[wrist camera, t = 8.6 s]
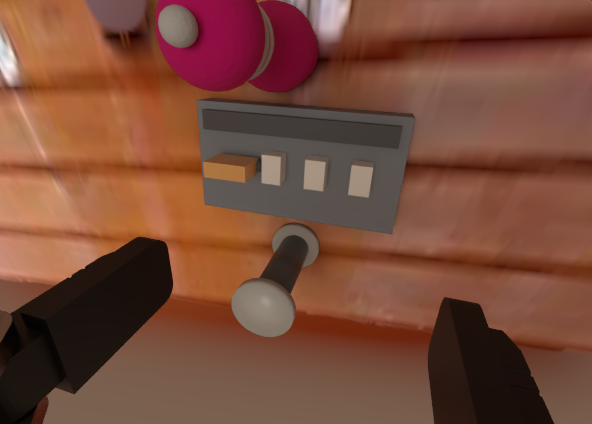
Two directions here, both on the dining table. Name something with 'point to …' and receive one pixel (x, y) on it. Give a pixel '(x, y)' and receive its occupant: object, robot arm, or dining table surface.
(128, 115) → the dining table surface
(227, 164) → the main breaker lever
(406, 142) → the breaker panel
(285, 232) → the grey-capped dumbbell
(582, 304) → the dining table surface
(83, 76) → the dining table surface
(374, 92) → the dining table surface
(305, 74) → the pepper mill
